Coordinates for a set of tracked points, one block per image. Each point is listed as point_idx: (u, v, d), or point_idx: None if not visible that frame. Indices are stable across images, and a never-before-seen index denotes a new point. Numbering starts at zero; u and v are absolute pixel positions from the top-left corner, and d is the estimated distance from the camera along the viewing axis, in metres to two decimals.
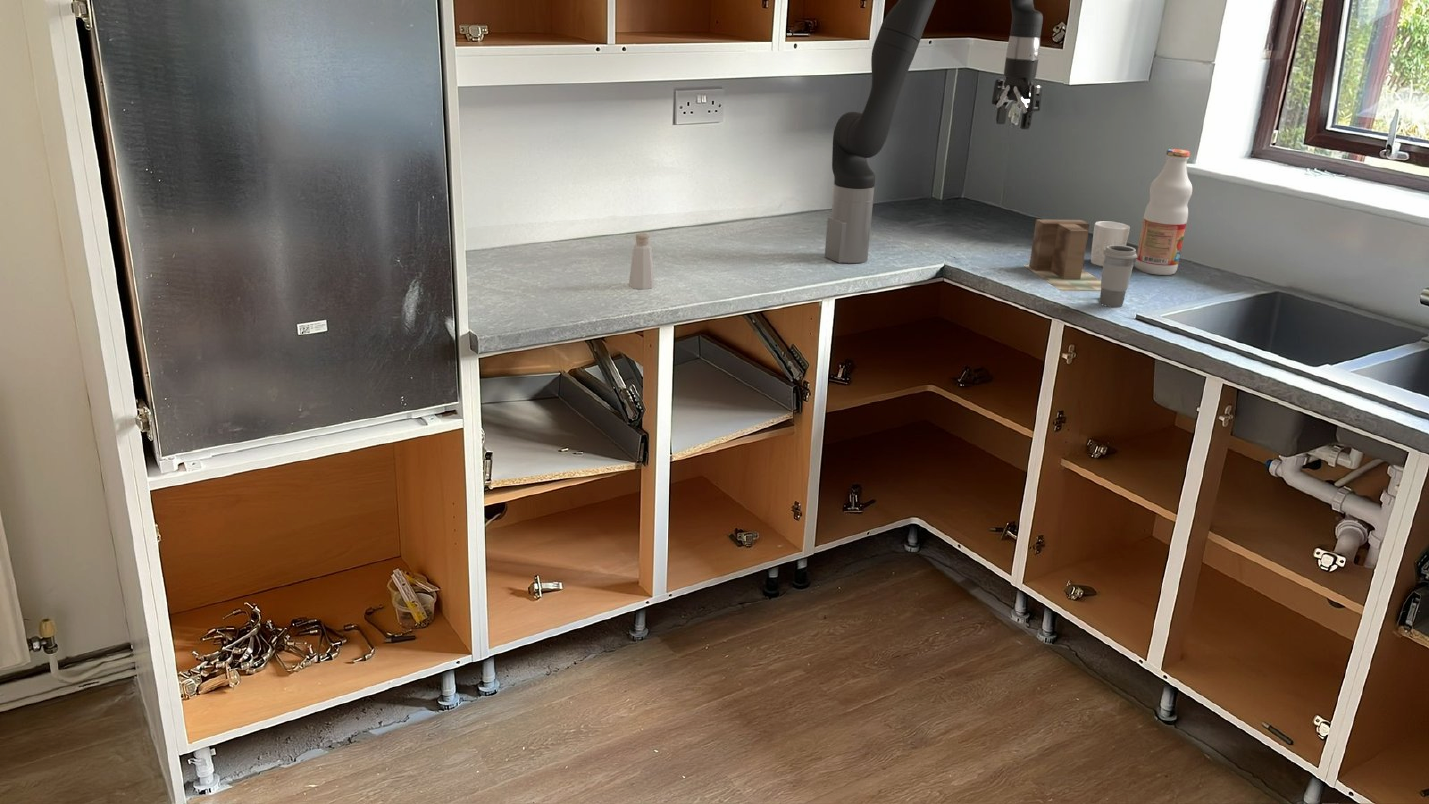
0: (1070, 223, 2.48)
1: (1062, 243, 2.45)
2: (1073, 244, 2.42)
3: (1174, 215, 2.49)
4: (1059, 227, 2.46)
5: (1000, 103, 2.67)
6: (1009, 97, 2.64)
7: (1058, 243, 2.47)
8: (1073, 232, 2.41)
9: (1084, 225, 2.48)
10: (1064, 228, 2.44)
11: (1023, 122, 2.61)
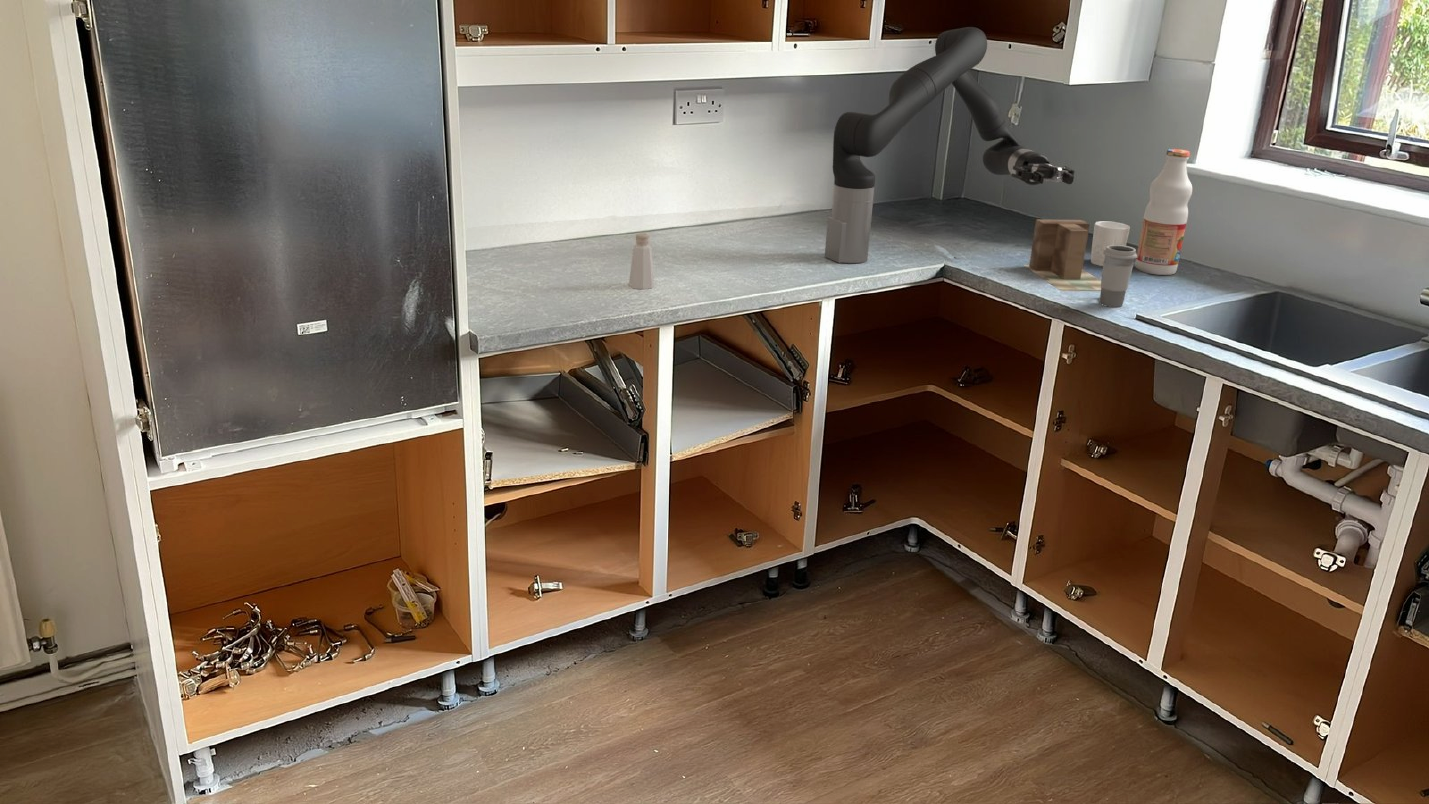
0: (1070, 223, 2.48)
1: (1062, 243, 2.45)
2: (1073, 244, 2.42)
3: (1174, 215, 2.49)
4: (1059, 227, 2.46)
5: (1035, 170, 2.56)
6: (1041, 169, 2.58)
7: (1058, 243, 2.47)
8: (1073, 232, 2.41)
9: (1084, 225, 2.48)
10: (1064, 228, 2.44)
11: None
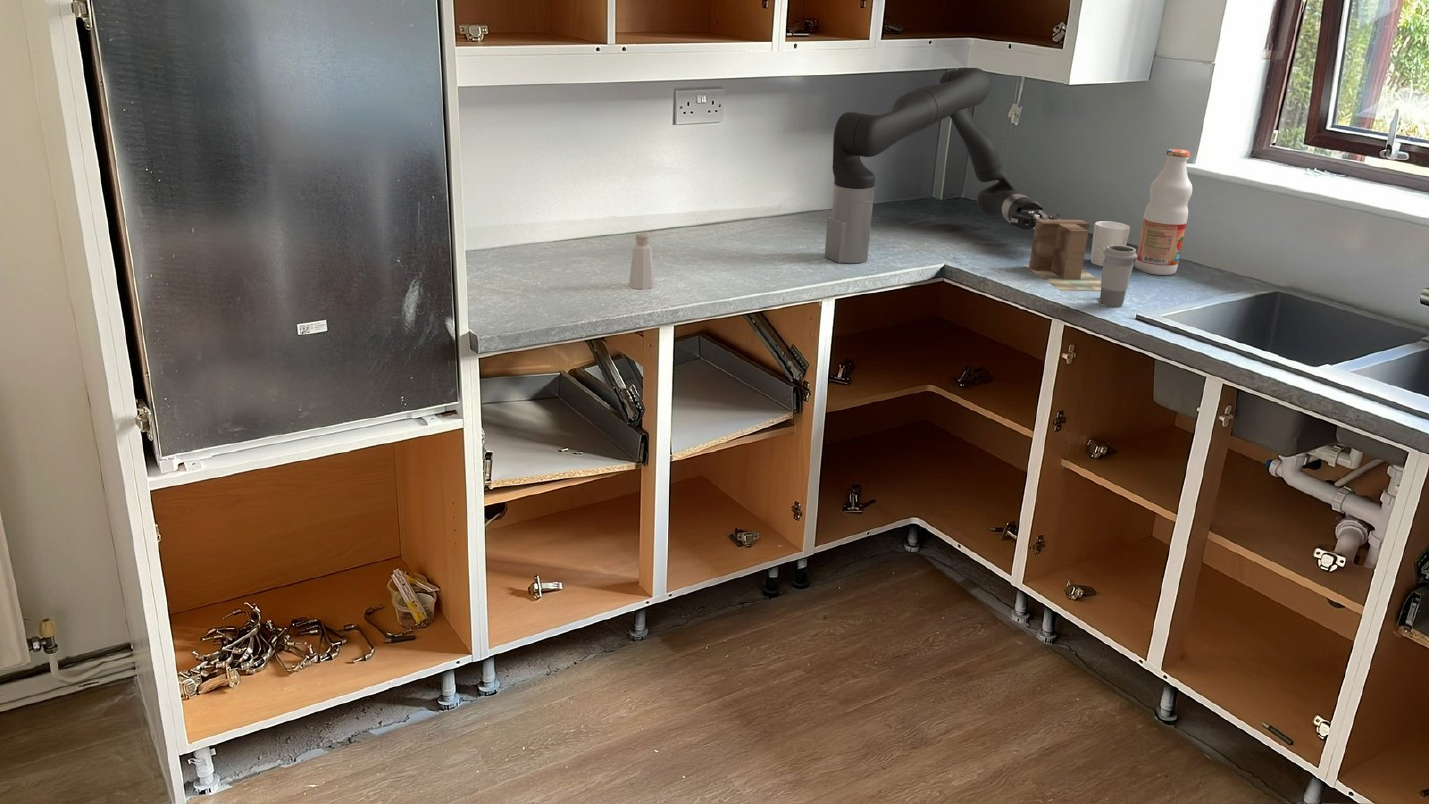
0: (1070, 223, 2.48)
1: (1062, 243, 2.45)
2: (1073, 244, 2.42)
3: (1174, 215, 2.49)
4: (1059, 227, 2.46)
5: (1039, 218, 2.60)
6: None
7: (1058, 243, 2.47)
8: (1073, 232, 2.41)
9: (1084, 225, 2.48)
10: (1064, 228, 2.44)
11: None
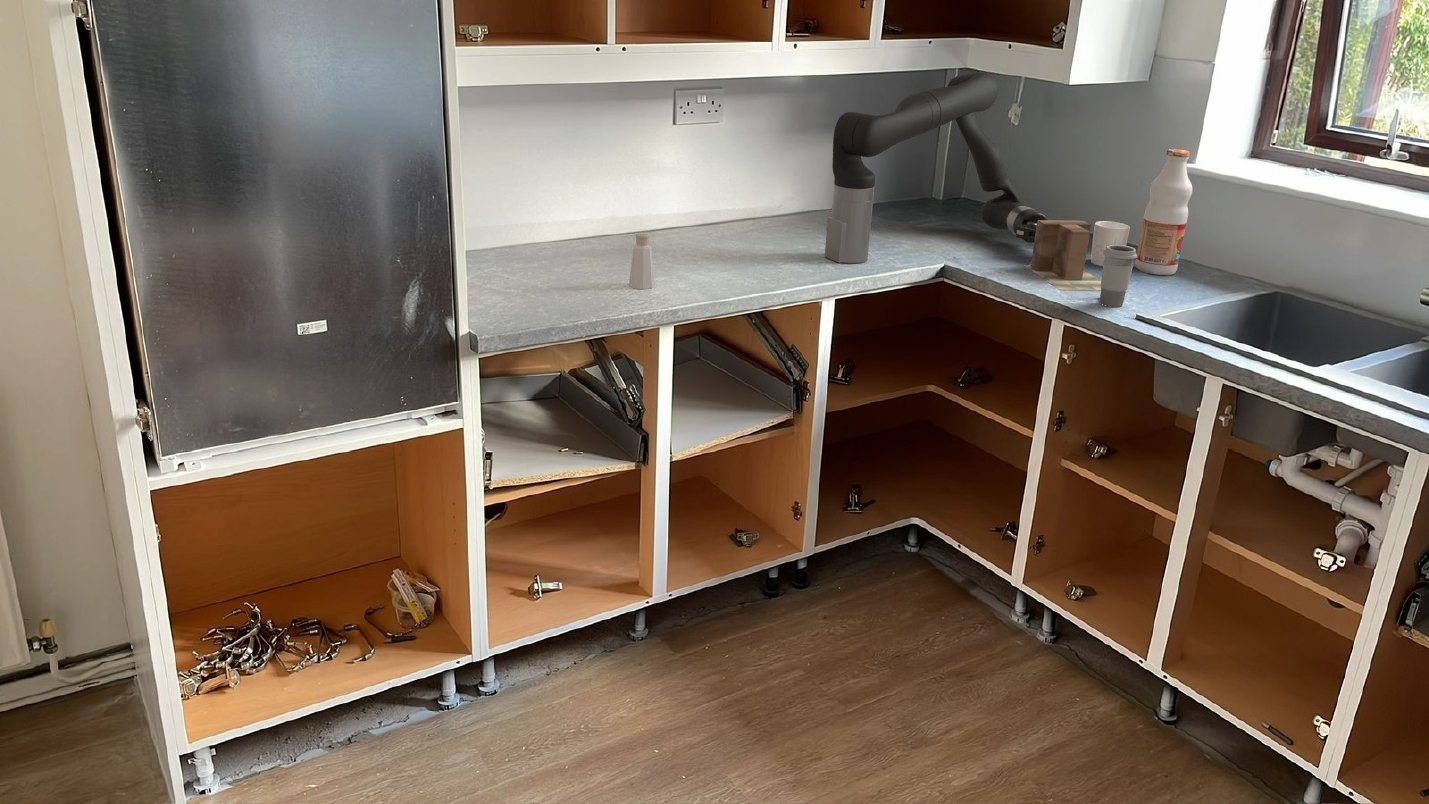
0: (1071, 224, 2.47)
1: (1064, 243, 2.44)
2: (1074, 245, 2.41)
3: (1174, 215, 2.49)
4: (1060, 228, 2.46)
5: None
6: None
7: (1059, 244, 2.46)
8: (1075, 233, 2.40)
9: (1085, 226, 2.48)
10: (1066, 229, 2.43)
11: None
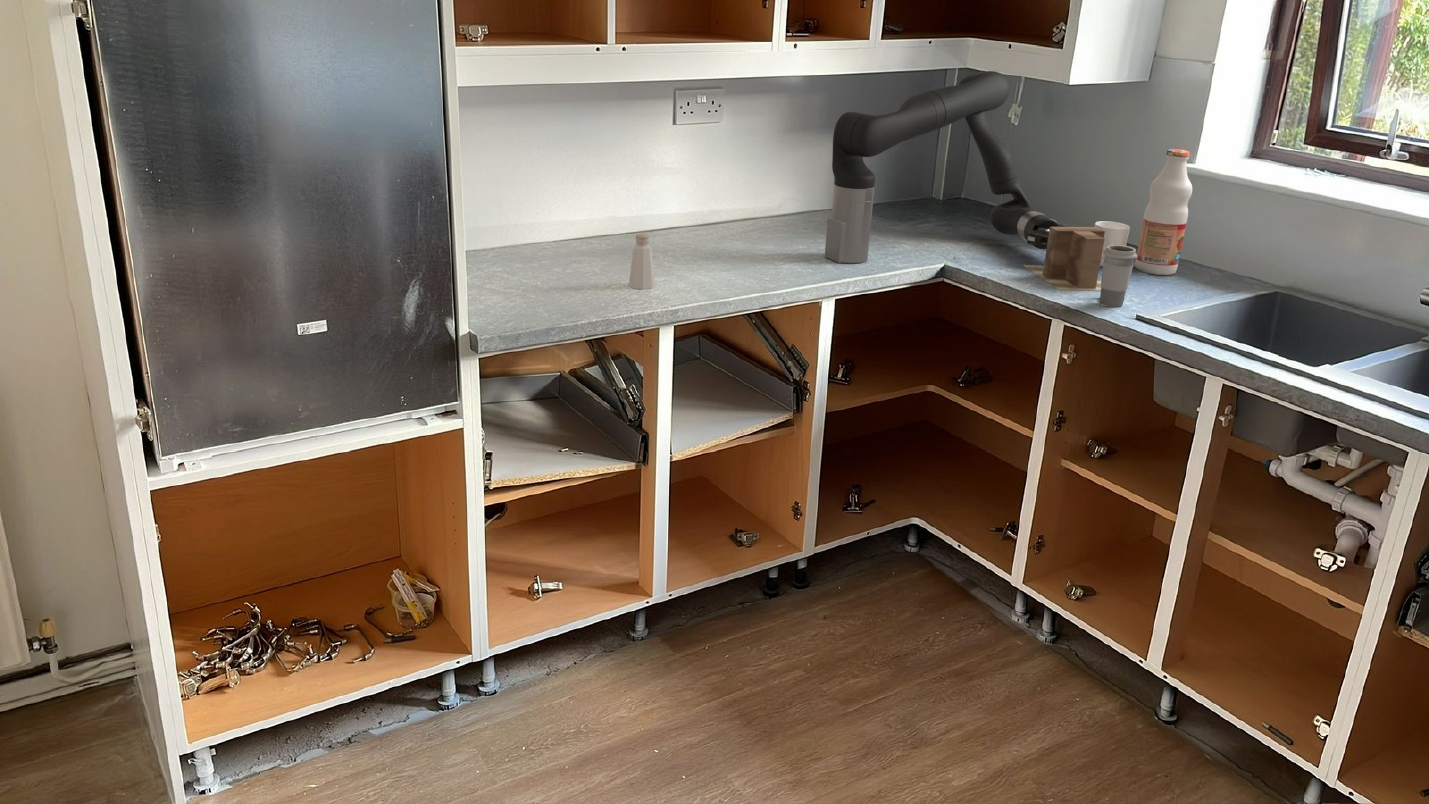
0: (1085, 230, 2.41)
1: (1077, 251, 2.38)
2: (1088, 252, 2.35)
3: (1174, 215, 2.49)
4: (1074, 235, 2.40)
5: None
6: None
7: (1073, 251, 2.41)
8: (1089, 240, 2.34)
9: (1099, 232, 2.42)
10: (1079, 236, 2.38)
11: None
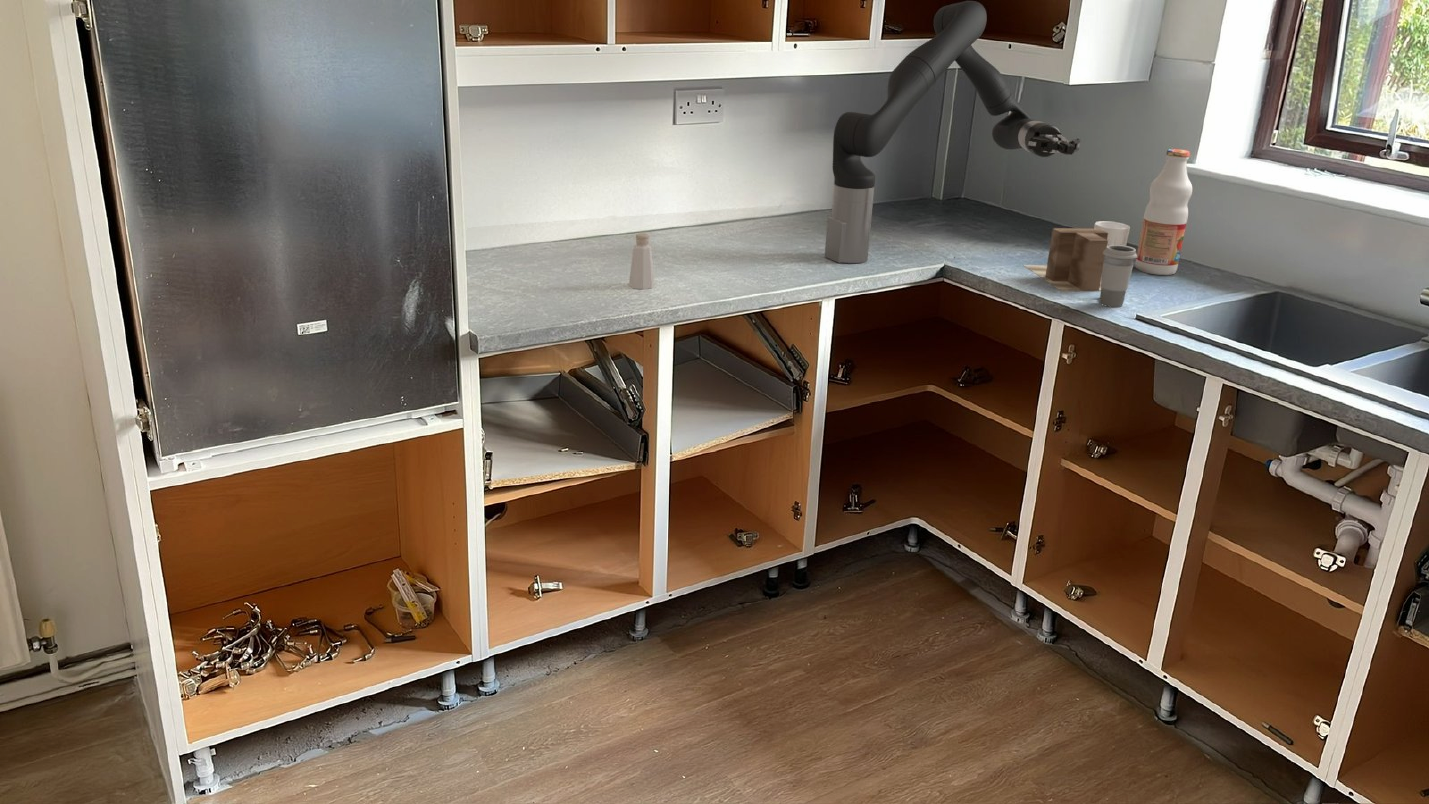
0: (1088, 232, 2.40)
1: (1080, 252, 2.37)
2: (1092, 254, 2.34)
3: (1174, 215, 2.49)
4: (1077, 236, 2.39)
5: (1058, 140, 2.50)
6: None
7: (1076, 253, 2.39)
8: (1092, 242, 2.33)
9: (1102, 234, 2.40)
10: (1082, 237, 2.36)
11: None
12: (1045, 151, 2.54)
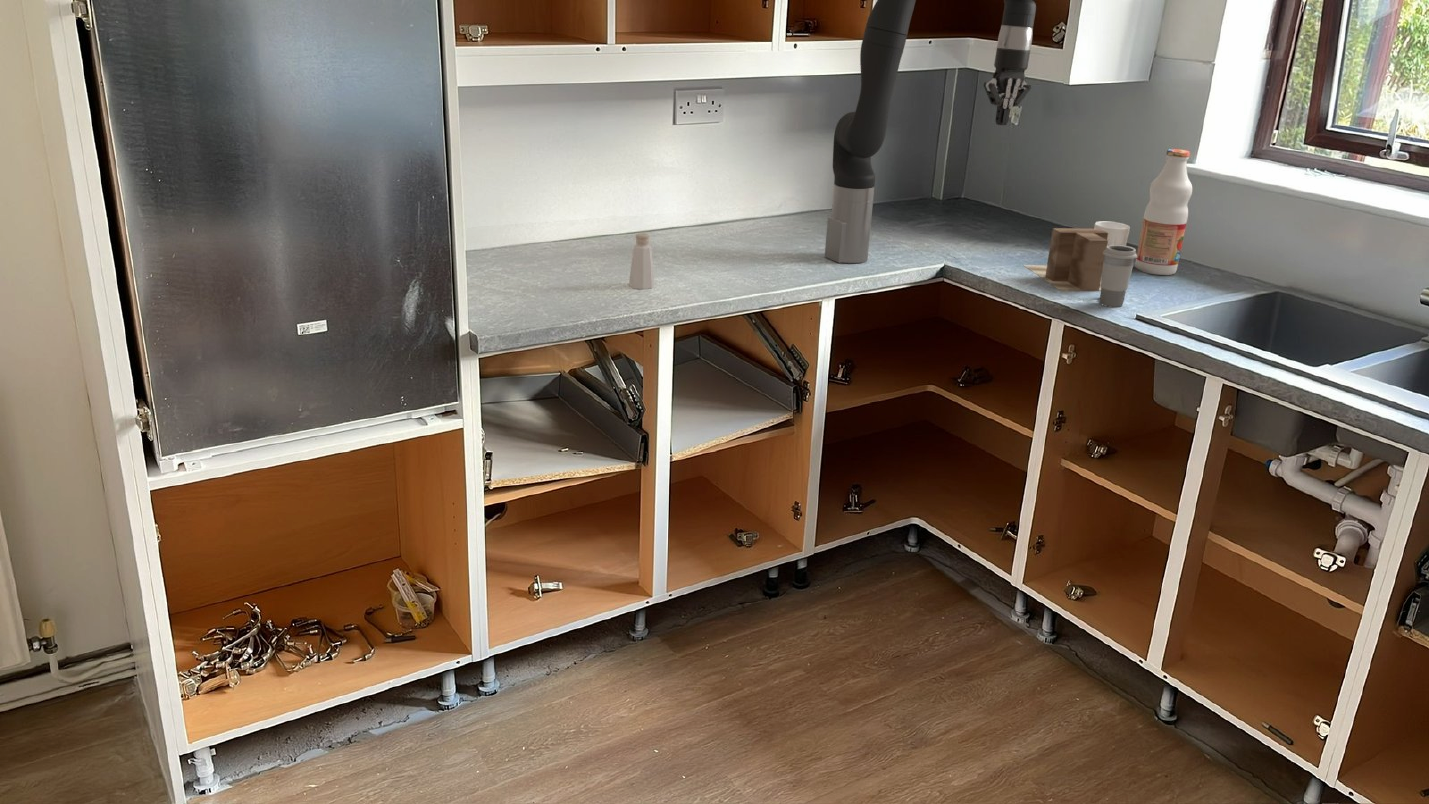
0: (1088, 232, 2.40)
1: (1080, 252, 2.37)
2: (1092, 254, 2.34)
3: (1174, 215, 2.49)
4: (1077, 236, 2.39)
5: (1006, 101, 2.54)
6: (1011, 88, 2.53)
7: (1076, 253, 2.39)
8: (1092, 242, 2.33)
9: (1102, 234, 2.40)
10: (1082, 237, 2.36)
11: None
12: None
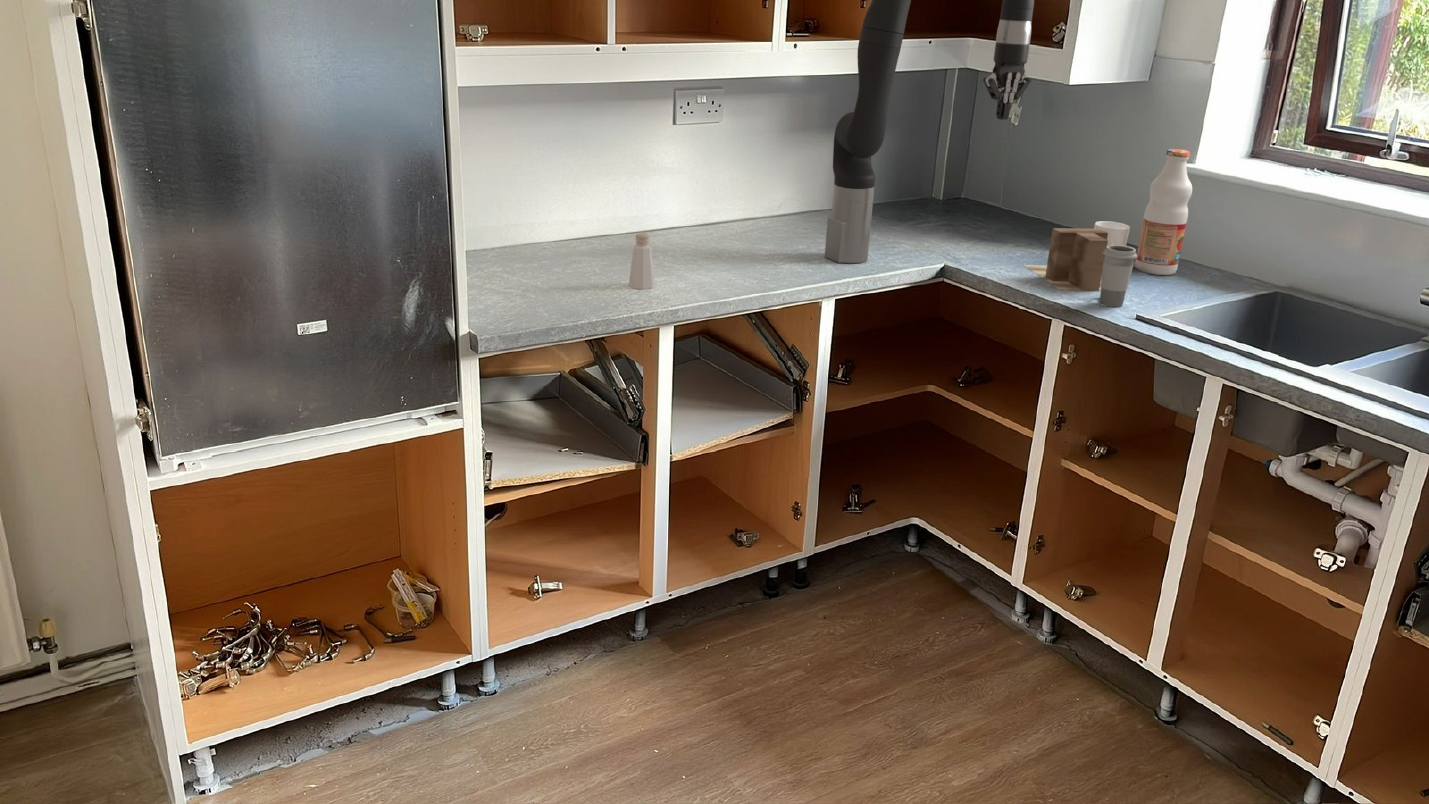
0: (1088, 232, 2.40)
1: (1080, 252, 2.37)
2: (1092, 254, 2.34)
3: (1174, 215, 2.49)
4: (1077, 236, 2.39)
5: (1006, 96, 2.53)
6: (1011, 82, 2.52)
7: (1076, 253, 2.39)
8: (1092, 242, 2.33)
9: (1102, 234, 2.40)
10: (1082, 237, 2.36)
11: None
12: None
